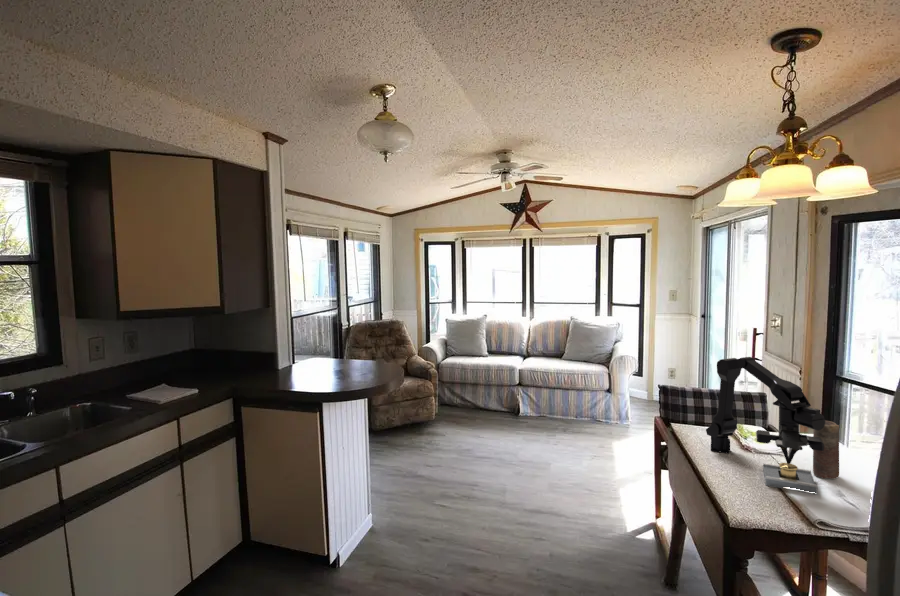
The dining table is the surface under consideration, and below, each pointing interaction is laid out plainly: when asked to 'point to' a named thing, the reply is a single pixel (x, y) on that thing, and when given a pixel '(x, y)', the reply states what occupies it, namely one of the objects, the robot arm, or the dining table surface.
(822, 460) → the candle
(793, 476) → the gold flared round piece
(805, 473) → the jig
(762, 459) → the dining table surface
